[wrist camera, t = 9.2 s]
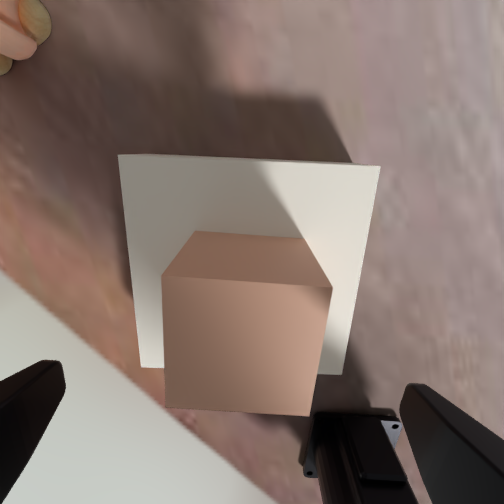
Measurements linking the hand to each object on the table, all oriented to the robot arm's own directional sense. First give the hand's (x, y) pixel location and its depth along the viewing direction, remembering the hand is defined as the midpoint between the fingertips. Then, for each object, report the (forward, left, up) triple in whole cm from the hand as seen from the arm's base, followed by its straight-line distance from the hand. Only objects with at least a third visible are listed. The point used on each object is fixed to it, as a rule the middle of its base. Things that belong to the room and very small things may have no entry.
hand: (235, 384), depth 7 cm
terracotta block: (0, 0, -7) cm, 7 cm away
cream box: (0, 0, -11) cm, 11 cm away
